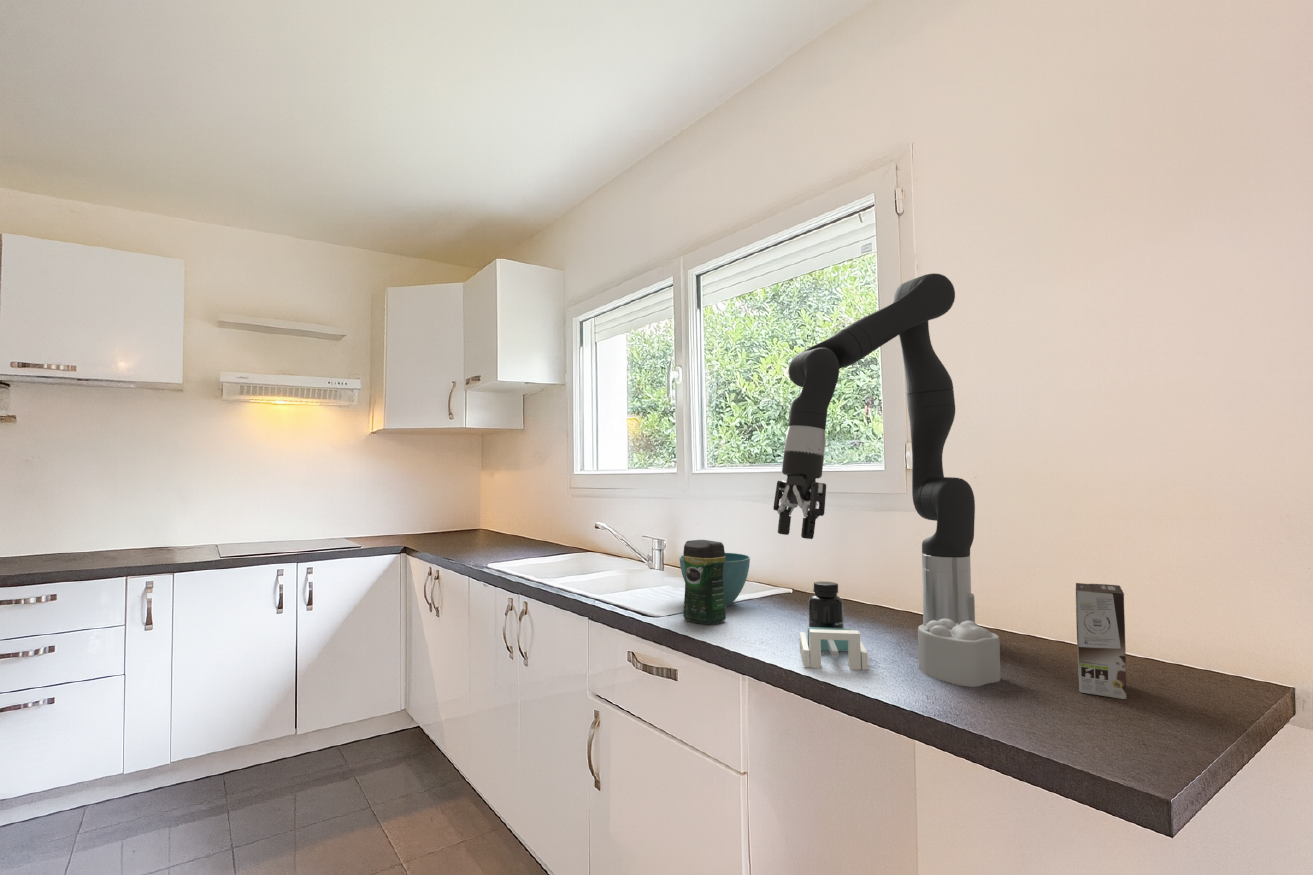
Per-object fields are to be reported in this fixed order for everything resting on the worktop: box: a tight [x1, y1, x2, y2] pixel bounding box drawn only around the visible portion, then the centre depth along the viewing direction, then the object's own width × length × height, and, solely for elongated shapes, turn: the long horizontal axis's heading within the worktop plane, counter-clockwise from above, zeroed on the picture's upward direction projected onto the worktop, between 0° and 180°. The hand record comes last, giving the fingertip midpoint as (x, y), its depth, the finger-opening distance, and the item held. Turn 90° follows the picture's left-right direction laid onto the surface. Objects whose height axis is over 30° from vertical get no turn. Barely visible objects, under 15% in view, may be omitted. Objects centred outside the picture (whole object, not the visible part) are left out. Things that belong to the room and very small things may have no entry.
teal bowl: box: [679, 552, 751, 608], centre depth 174 cm, size 18×18×12 cm
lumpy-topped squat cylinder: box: [917, 619, 1001, 688], centre depth 116 cm, size 10×13×9 cm
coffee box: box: [1075, 582, 1127, 700], centre depth 108 cm, size 9×6×16 cm
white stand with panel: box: [799, 629, 869, 671], centre depth 125 cm, size 11×13×6 cm
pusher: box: [807, 626, 851, 658], centre depth 125 cm, size 8×12×4 cm, turn 171°
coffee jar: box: [682, 539, 727, 625], centre depth 156 cm, size 10×8×19 cm
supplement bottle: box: [808, 581, 844, 628], centre depth 136 cm, size 7×7×12 cm
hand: (794, 536), depth 128 cm, fingers open, 8 cm apart
